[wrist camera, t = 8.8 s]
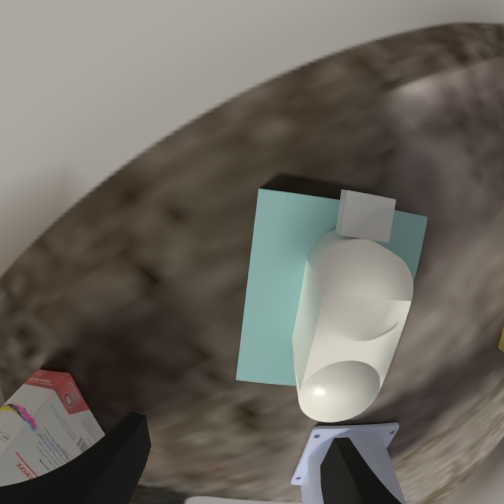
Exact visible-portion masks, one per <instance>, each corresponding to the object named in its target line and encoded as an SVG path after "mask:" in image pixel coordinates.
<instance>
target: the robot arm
mask: <svg viewBox="0 0 504 504" xmlns="http://www.w3.org/2000/svg"><path fill="white" fill-rule="evenodd" d="M399 427H400V426H399V424H398V423H396V422H395V423H384V424H370V425H347V426H316V427H314V428H313V429H312V432H311V434H310V437H309V439H308V442H307V444H306V447H305V449H304V452H303V454H302V456H301V459H300V461H299V464H298V466H297V468H296V470H295V473H294V475H293V477H292V479H291V484H293V485H301V493H302V504H406V502H405V499H404V496H403V493H402V490H401V487H400V484H399V482H398V479H397V476H396V473H395V470H394V468H393V465H392V462H391V459H390V457H389V454H388V451H387V447H388V445H389V444H390V442H391V441H392V439H393V437H394V436H395V434H396V432H397V431H398V429H399ZM317 434H318V435H317ZM150 448H151V443H150V437H149V432H148V426H147V419H146V416H145V415H142V414H138V413H134V412H130V413H129V414H128V415H127V416H126V417H124V418H123V419H122V420H121V421H120V422H119V423H118V424H117V425H116V426H115V427H114V428H113V429H112V430H110V431H109V432H108V433H107V434H106V435H105V436H104V437H102V438H101V439H100V440H99V441H97V442H96V443H95V444H94V445H92V446H91V447H90V448H88V449H87V450H86V451H84V452H83V453H81V454H80V455H79V456H77V457H76V458H74V459H72V460H71V461H69V462H67V463H66V464H64V465H62V466H60V467H58V468H56V469H54V470H52V471H50V472H48V473H46V474H43V475H41V476H38V477H35V478H32V479H29V480H26V481H23V482H20V483H16V484H11V485H6V486H0V504H129V501H130V499H131V497H132V495H133V492H134V490H135V488H136V486H137V484H138V481H139V479H140V477H141V475H142V472H143V470H144V468H145V465H146V462H147V459H148V455H149V451H150Z"/></svg>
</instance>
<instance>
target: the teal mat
mask: <svg viewBox="0 0 504 504" xmlns="http://www.w3.org/2000/svg"><path fill="white" fill-rule="evenodd" d="M339 204H340V200H337V199H331V198H325V197H318V196H312V195H305V194H298V193H291V192H284V191H276V190H268V189H260V188H259V192H258V200H257V208H256V217H255V225H254V233H253V242H252V250H251V258H250V267H249V275H248V283H247V292H246V300H245V308H244V317H243V325H242V334H241V342H240V350H239V359H238V367H237V376H236V380H242V381H250V382H259V383H269V384H280V385H293V386H297V384H296V376H295V369H294V361H293V354H292V347H291V342H292V336H293V331H294V326H295V321H296V316H297V311H298V306H299V300H300V295H301V289H302V284H303V278H304V272H305V266H306V260H307V256H308V253H309V250H310V248H311V246H312V245H313V243H314V242H315V241H316V240H317V239H318V238H319V237H320V236H321V235H323V234H324V233H326V232H328V231H330V230H333V229H336V224H337V217H338V211H339ZM427 219H428V217H425V216H421V215H417V214H412V213H408V212H403V211H398V210H394V216H393V222H392V228H391V233H390V239H389V243H387V242H381V241H374V240H373V241H374V242H376V243H378V244H379V245H381V246H383V247H384V248H386V249H388V250H389V251H391V252H392V253H394V254H396V255H397V256H399V257H400V258H401V259H402V260H403V261H404V262H405V263H406V265H407V266H408V268H409V270H410V272H411V275H412V279H413V283H414V280H415V276H416V272H417V267H418V263H419V259H420V254H421V250H422V245H423V240H424V235H425V230H426V224H427Z"/></svg>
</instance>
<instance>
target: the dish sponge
mask: <svg viewBox="0 0 504 504" xmlns="http://www.w3.org/2000/svg"><path fill="white" fill-rule="evenodd" d="M498 348H499V349H500V350H501V351H502V352H503V353H504V327H503V331H502V335H501V338H500V342H499V345H498Z"/></svg>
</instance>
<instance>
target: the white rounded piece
mask: <svg viewBox="0 0 504 504" xmlns="http://www.w3.org/2000/svg"><path fill="white" fill-rule="evenodd" d="M395 203H396V199H391V198H386V197H381V196H376V195H371V194H365V193H360V192H355V191H349V190H341V197H340V204H339V211H338V217H337V224H336V229H333V230H330V231H328V232H326V233H324V234H323V235H321V236H320V237H319V238H318V239H317V240H316V241H315V242H314V243H313V245H312V246H311V248H310V250H309V253H308V256H307V260H306V266H305V272H304V278H303V284H302V289H301V295H300V300H299V306H298V311H297V316H296V321H295V326H294V331H293V336H292V342H291V347H292V354H293V361H294V369H295V376H296V384H297V391H298V399H299V405H300V407H301V409H302V411H303V412H304V413H305V414H306V415H307V416H308V417H310V418H312V419H314V420H317V421H321V422H339V421H343V420H347V419H350V418H352V417H354V416H356V415H358V414H360V413H361V412H363V411H364V410H365V409H367V408H368V407H369V406H370V405H371V404H372V403H373V401H374V400H375V399H376V397H377V395H378V393H379V391H380V388H381V386H382V384H383V381H384V379H385V376H386V374H387V371H388V369H389V366H390V364H391V361H392V358H393V356H394V353H395V350H396V348H397V345H398V342H399V339H400V336H401V333H402V330H403V327H404V324H405V321H406V318H407V315H408V311H409V308H410V305H411V301H412V297H413V279H412V275H411V272H410V270H409V268H408V266H407V265H406V263H405V262H404V261H403V260H402V259H401V258H400V257H399V256H397V255H396V254H394V253H392V252H391V251H389V250H388V249H386V248H384V247H383V246H381V245H379V244H378V243H376V242H374V241H381V242H387V243H389V239H390V233H391V228H392V222H393V216H394V210H395ZM373 240H374V241H373Z"/></svg>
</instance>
